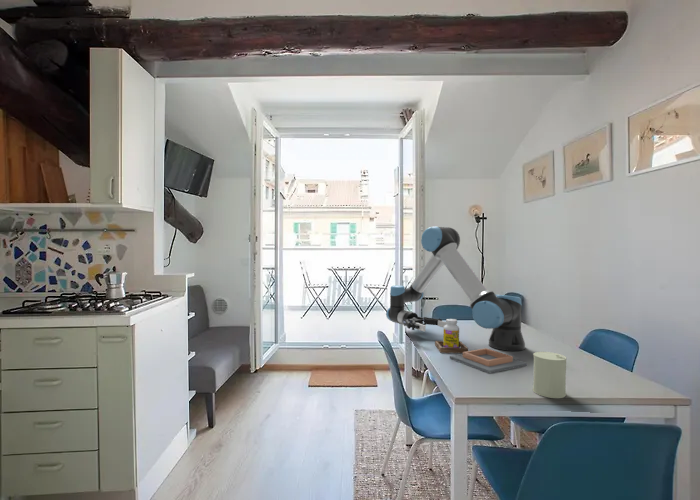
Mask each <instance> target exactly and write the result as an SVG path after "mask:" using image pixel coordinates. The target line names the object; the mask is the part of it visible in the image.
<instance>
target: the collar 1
mask: <svg viewBox="0 0 700 500" xmlns="http://www.w3.org/2000/svg"><path fill="white" fill-rule="evenodd" d="M434 341H435V342H434V345H435V347H436V349H437V350H438V351H439V353H441V354H442V353H443V354H463V352H466V351H469V348H468V347H467V346H466V344H464V343H463V341H460V340H459V348H443V340H434Z"/></svg>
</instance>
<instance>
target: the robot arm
mask: <svg viewBox="0 0 700 500" xmlns="http://www.w3.org/2000/svg"><path fill="white" fill-rule="evenodd" d="M420 243H421V246H422V248H423V249H424V250H425V251H427V252H429V253H430V252H431V254H432V255H431V256H430V258H429V259H428V260H427V262H426V263H425V265H424V266H423V268H422V269H421V270H420V272H419V273H418V274H417V276H416V278H415V279H414V280H413V281H412V283H411V284H410V286H409V287H408V288H406V287H405V286H404V285H397V284H396V285H392V286H391V287H390V291H389V296H390V300H389V304H390V305H389V308H388V309H387V310H386V313H385V315H386V319H387V320H389V321H391V322H392V323H395V324H399V325H403V327H406V328H407V329H411V331H415V330H418V331H422V332H424V333H425V332H426V330H427V329H426V327H427V326H426V325H430V326H431V325H432V326H438V327H440V328H443V329H444V326H445V325H446V324H447V323H446V321H443V319H442V318H440V317H439V318H433V317H427V316H426V317H425V316H424V317H422V316H418V314H417V313H416V312H415V311H414V312H413V311H409V310H405V303H413V302H418V301H421V300H422V299H423V298H424V295H425V294H424V291H425V290H426V289H427V287H428V286H429V285H430V283H431V282H432V280H433V279H434V278H435V277H436V275H437V274H438V272H439V271H440V270H441V269H442V267H443V266H445V267H446V270H448V271H449V274H450V275H451V276H452V277H453V279H454V280H455V281H456V282H457V284H458V285H459V287H460V288H461V290H462V292H464V294H465V296H466V297H467V299H468V300H469V301H470V303H469V304H470V305H469V306H470V308H471V312H472V314H471V315H472V318H473V321H474V323H476V324H477V325H478V326H479V327H481V328H483V329H486V330H487V329H488V330H490V329H492V331H491V333H490V334H489V338H488V346H490V347H491V348H493V349H496V350H497V349H498V350H501V351H510V352H519V351H523V350H525V349H526V342H525V339H524V336H523V332H522V308H523V304H522V299H521V297H519V296H514V295H513V296H512V295H503V294H495V292H494V291H493V290H488V289H487V288H486V286H485V285H484V284H483V283H482V281H481V280H480V278H479V277H478V276H477V275H476V273H475V272H474V270H473V269H472V268H471V266H470V265H469V264H468V262H467V261H466V260H465V258H464V257H463V255H461V253H460V251H458V249H459V246H460V243H461V237H460V234H459V232H458V231H457V230H456V229H454V228H452V227H445V226H443V227H442V226H429V227H428V228H426V229H425V230H424V231H423V232H422V235H421V240H420Z"/></svg>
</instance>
